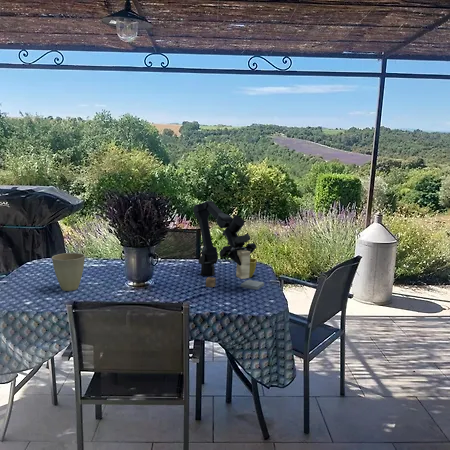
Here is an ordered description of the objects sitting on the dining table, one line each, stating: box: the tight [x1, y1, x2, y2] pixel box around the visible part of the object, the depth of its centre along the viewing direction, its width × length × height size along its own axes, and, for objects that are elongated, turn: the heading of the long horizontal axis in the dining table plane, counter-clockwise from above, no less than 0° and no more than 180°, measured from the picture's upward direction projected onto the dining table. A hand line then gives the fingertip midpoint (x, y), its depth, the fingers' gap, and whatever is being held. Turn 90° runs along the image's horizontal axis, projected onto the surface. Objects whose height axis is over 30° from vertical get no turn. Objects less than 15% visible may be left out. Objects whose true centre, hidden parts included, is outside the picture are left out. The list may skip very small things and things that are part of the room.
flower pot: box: [249, 258, 258, 278], centre depth 246 cm, size 9×9×9 cm
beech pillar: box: [235, 250, 251, 280], centre depth 218 cm, size 4×4×13 cm
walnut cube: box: [205, 276, 217, 288], centre depth 227 cm, size 4×4×4 cm
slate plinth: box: [240, 279, 265, 290], centre depth 228 cm, size 9×9×2 cm
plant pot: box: [51, 252, 86, 292], centre depth 215 cm, size 15×15×16 cm
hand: (244, 264), depth 217 cm, fingers closed on beech pillar, 4 cm apart
